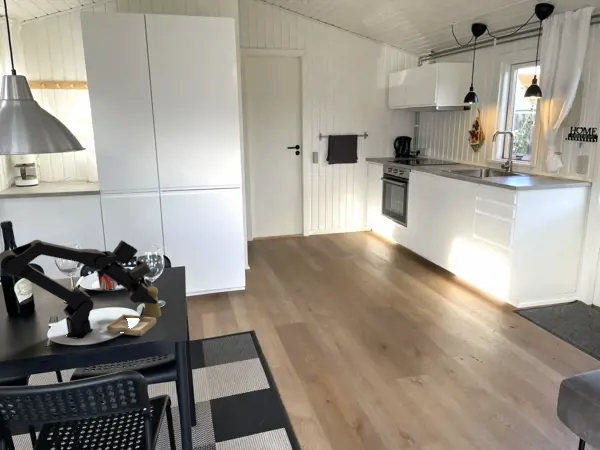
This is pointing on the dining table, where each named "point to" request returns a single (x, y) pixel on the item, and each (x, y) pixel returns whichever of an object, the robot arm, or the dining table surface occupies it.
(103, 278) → the soda can
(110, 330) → the tray
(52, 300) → the dining table surface
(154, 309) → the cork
